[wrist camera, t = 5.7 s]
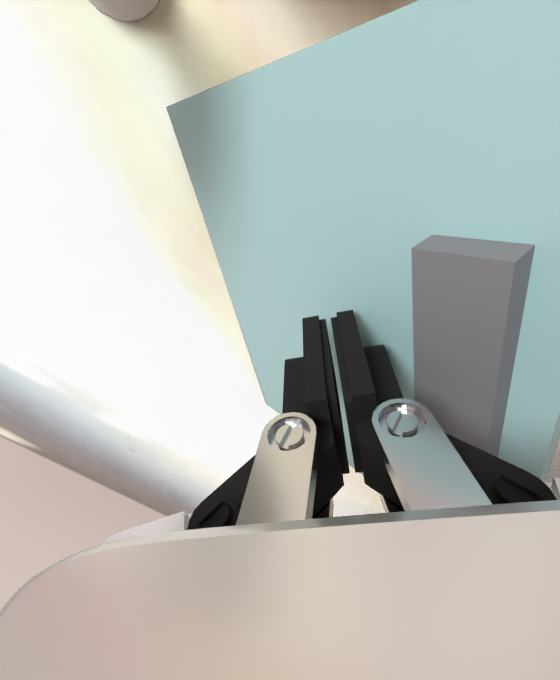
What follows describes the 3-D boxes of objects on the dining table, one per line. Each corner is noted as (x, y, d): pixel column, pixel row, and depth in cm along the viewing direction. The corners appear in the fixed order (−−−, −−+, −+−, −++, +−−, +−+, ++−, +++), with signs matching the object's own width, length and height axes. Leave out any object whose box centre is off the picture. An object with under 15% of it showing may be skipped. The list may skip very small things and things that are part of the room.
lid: (730, -120, 4) (697, -135, 3) (520, 564, 13) (498, 601, 12) (180, 104, 14) (144, 112, 14) (272, 394, 23) (253, 408, 22)
